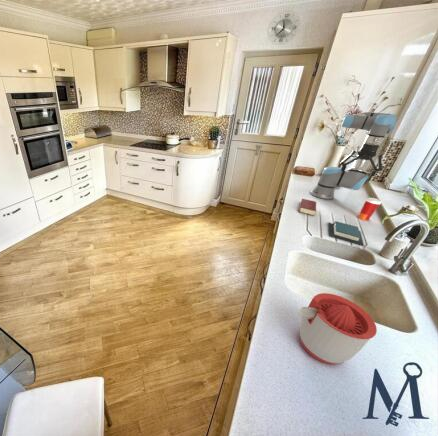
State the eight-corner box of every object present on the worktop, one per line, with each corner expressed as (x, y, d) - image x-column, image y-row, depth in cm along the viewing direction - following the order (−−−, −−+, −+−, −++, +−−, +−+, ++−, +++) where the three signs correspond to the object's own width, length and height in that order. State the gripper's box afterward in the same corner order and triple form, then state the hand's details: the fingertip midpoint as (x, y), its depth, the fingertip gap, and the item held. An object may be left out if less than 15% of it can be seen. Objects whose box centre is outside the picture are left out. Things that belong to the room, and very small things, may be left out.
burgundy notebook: (300, 203, 174) (302, 198, 172) (314, 206, 170) (316, 201, 168) (298, 211, 162) (300, 206, 160) (313, 215, 158) (315, 210, 155)
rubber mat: (328, 223, 150) (328, 222, 149) (359, 231, 142) (359, 230, 142) (329, 235, 136) (329, 235, 136) (363, 245, 129) (363, 245, 129)
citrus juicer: (285, 317, 86) (305, 278, 76) (340, 335, 81) (370, 296, 71) (289, 357, 74) (315, 316, 64) (355, 381, 68) (394, 340, 58)
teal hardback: (333, 225, 147) (335, 221, 145) (355, 231, 142) (358, 226, 140) (333, 235, 137) (336, 230, 135) (358, 242, 131) (360, 237, 130)
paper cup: (368, 217, 159) (379, 198, 152) (372, 222, 153) (383, 203, 146) (354, 214, 162) (364, 196, 154) (357, 219, 155) (368, 200, 148)
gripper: (346, 141, 138) (330, 175, 149) (402, 148, 127) (380, 184, 137) (345, 139, 144) (330, 172, 154) (398, 146, 132) (378, 181, 143)
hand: (353, 178), depth 146 cm, fingers open, 13 cm apart
